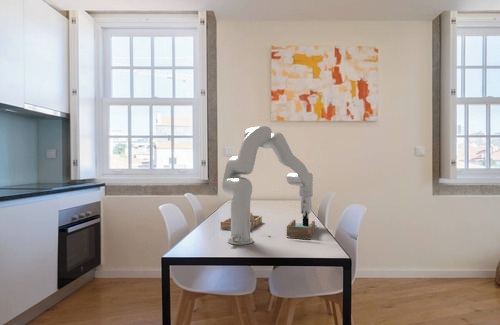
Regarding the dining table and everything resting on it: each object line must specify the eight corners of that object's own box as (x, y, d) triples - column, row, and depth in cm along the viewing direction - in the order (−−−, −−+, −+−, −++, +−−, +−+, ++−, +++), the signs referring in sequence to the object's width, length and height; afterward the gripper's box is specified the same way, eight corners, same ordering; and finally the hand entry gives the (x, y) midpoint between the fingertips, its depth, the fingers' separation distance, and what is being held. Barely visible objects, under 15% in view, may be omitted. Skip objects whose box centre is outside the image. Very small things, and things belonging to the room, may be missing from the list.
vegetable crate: (248, 231, 170) (248, 224, 170) (220, 228, 175) (220, 222, 175) (261, 222, 194) (261, 216, 194) (237, 220, 200) (237, 214, 200)
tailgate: (314, 230, 168) (316, 224, 176) (293, 228, 172) (296, 223, 180) (314, 232, 169) (316, 226, 176) (293, 230, 173) (296, 225, 180)
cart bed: (310, 240, 151) (310, 228, 151) (286, 238, 155) (286, 226, 155) (314, 232, 168) (314, 221, 168) (293, 230, 172) (293, 219, 172)
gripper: (310, 195, 167) (310, 228, 167) (314, 192, 181) (313, 223, 181) (297, 194, 170) (296, 227, 170) (301, 192, 184) (301, 222, 184)
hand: (305, 225), depth 176 cm, fingers closed
